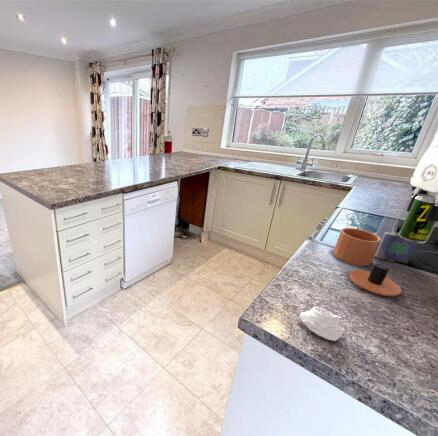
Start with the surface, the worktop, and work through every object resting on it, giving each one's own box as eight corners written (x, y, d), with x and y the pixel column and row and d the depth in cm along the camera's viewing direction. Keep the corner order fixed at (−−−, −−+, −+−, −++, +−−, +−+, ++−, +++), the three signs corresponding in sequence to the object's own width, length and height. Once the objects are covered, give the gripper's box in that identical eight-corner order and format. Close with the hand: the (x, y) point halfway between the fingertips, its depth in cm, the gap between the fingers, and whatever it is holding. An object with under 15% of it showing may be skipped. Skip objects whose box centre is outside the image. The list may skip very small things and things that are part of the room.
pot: (360, 252, 84) (369, 229, 81) (377, 268, 75) (389, 243, 72) (328, 248, 86) (335, 226, 83) (341, 263, 77) (350, 239, 74)
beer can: (393, 233, 69) (411, 192, 64) (417, 236, 67) (437, 194, 63) (405, 242, 64) (426, 198, 60) (431, 245, 63) (454, 200, 58)
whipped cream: (295, 328, 54) (298, 312, 52) (302, 310, 58) (306, 294, 56) (340, 348, 49) (346, 330, 47) (344, 326, 53) (350, 309, 51)
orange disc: (383, 276, 71) (391, 258, 69) (410, 301, 61) (421, 281, 59) (341, 271, 73) (348, 253, 71) (361, 294, 64) (370, 274, 61)
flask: (376, 258, 80) (389, 229, 76) (371, 254, 83) (384, 225, 78) (410, 263, 78) (426, 233, 74) (404, 259, 80) (419, 229, 76)
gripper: (410, 139, 65) (384, 204, 72) (473, 146, 49) (432, 228, 56) (444, 140, 63) (414, 206, 70) (521, 148, 48) (473, 231, 55)
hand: (423, 215), depth 63 cm, fingers closed on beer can, 5 cm apart
